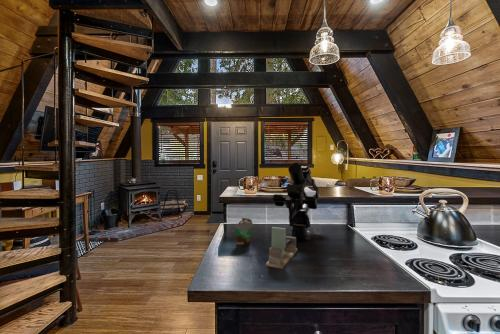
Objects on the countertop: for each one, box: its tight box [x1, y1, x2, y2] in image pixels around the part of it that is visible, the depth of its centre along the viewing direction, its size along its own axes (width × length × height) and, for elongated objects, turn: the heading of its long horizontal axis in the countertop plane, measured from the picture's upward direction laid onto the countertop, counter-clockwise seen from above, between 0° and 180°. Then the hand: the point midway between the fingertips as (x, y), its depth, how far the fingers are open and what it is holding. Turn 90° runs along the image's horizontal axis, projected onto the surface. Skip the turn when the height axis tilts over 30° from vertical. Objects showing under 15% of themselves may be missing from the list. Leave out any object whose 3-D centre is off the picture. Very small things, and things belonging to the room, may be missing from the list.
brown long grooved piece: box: [265, 235, 298, 270], centre depth 104 cm, size 20×6×6 cm, turn 155°
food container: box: [235, 217, 254, 247], centre depth 121 cm, size 12×6×10 cm, turn 168°
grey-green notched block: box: [271, 226, 287, 257], centre depth 99 cm, size 3×5×10 cm, turn 65°
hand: (290, 217), depth 113 cm, fingers closed
